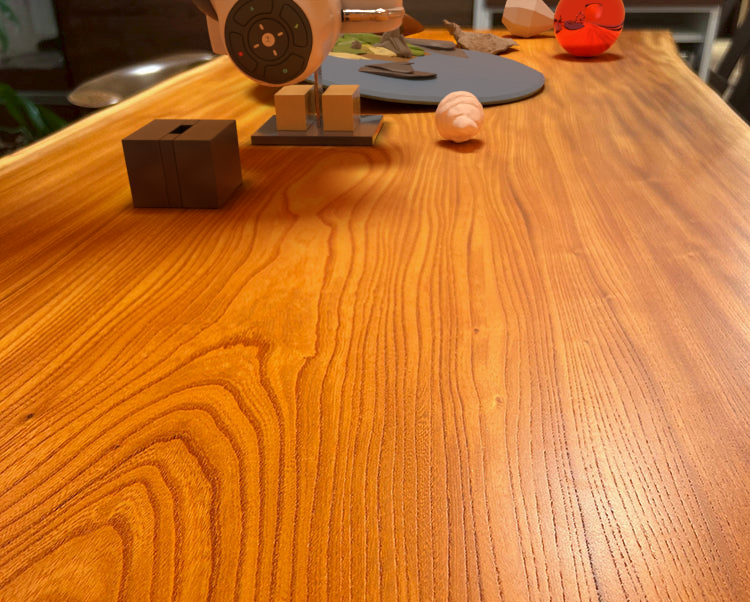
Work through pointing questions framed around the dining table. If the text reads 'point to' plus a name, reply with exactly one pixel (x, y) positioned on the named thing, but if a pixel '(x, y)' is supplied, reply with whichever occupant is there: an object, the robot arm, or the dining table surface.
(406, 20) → the decorative fish sculpture
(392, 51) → the serving platter
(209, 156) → the brown slotted box
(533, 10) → the faceted beige polyhedron
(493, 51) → the coral
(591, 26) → the ball
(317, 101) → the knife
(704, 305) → the dining table surface
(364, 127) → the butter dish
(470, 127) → the peach ridged curved piece
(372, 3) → the robot arm
